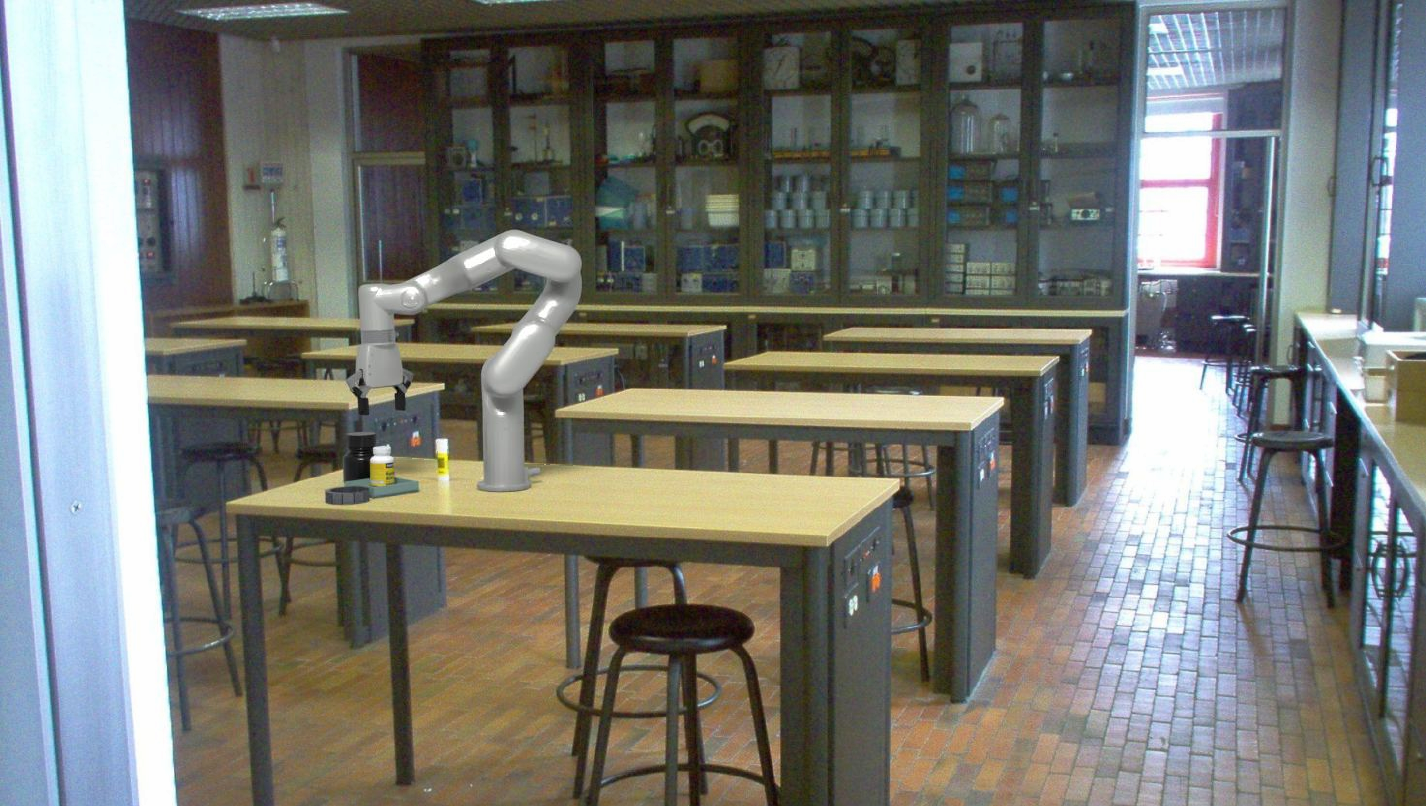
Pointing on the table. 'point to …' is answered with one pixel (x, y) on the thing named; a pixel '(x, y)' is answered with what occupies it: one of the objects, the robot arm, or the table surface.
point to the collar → (347, 495)
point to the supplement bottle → (381, 467)
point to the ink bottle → (358, 455)
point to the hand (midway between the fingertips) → (382, 412)
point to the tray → (387, 487)
